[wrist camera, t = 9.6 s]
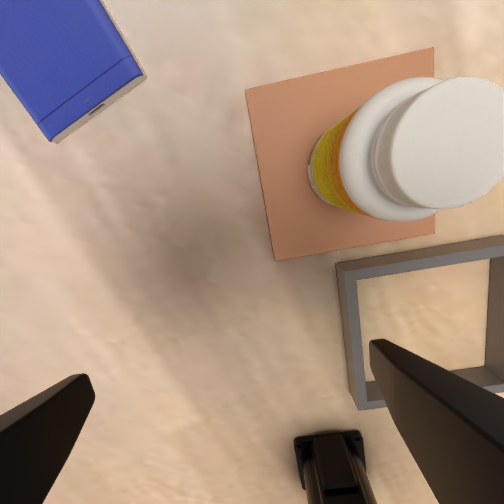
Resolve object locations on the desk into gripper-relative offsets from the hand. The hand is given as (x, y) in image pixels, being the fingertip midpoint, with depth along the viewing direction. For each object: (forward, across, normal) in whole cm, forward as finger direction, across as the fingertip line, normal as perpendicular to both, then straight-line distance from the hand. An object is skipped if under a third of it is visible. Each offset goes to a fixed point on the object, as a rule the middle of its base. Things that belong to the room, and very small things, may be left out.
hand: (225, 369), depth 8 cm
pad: (+13, -8, -6) cm, 16 cm away
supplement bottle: (+12, -8, -6) cm, 16 cm away
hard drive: (+13, +11, -18) cm, 25 cm away
